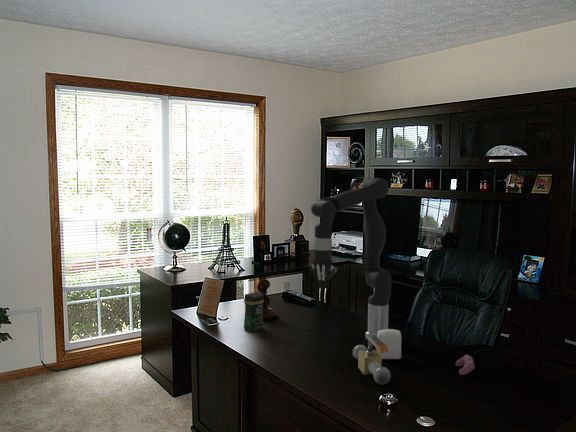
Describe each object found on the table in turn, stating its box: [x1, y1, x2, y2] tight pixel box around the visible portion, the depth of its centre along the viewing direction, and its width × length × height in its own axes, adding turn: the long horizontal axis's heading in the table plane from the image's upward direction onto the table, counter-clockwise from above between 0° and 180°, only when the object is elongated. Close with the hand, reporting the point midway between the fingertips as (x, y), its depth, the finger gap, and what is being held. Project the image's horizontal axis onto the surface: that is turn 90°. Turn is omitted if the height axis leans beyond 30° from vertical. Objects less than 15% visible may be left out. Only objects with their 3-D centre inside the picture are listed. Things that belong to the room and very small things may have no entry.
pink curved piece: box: [454, 354, 475, 376], centre depth 190 cm, size 10×5×7 cm, turn 169°
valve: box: [352, 340, 392, 386], centre depth 189 cm, size 24×7×13 cm, turn 12°
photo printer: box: [376, 328, 402, 360], centre depth 203 cm, size 10×4×12 cm, turn 90°
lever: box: [365, 330, 388, 353], centre depth 183 cm, size 17×4×2 cm, turn 10°
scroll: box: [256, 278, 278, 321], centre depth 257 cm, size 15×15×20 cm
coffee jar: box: [243, 290, 265, 333], centre depth 237 cm, size 10×8×19 cm
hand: (322, 288), depth 203 cm, fingers closed
